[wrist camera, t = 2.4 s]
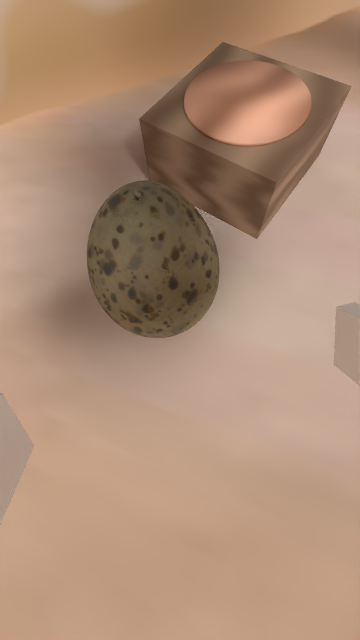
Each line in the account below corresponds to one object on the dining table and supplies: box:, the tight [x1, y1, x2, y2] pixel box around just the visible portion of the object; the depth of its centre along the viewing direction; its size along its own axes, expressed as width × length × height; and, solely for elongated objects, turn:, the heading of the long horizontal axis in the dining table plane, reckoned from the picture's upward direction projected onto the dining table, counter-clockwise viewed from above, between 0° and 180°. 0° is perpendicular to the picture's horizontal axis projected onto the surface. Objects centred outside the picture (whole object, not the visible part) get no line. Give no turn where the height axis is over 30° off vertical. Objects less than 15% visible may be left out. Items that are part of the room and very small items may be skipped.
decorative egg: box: [87, 181, 219, 338], centre depth 22 cm, size 11×11×15 cm
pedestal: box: [139, 42, 351, 238], centre depth 32 cm, size 16×16×8 cm
